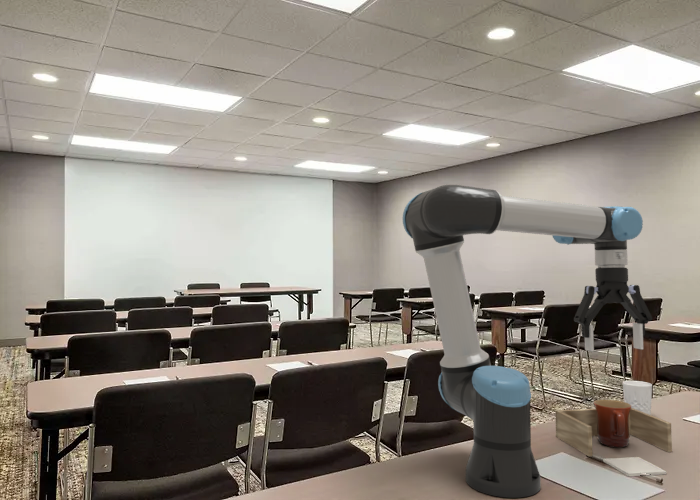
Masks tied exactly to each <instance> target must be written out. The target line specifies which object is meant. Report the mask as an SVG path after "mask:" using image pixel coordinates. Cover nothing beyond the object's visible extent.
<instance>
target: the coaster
mask: <svg viewBox="0 0 700 500" xmlns="http://www.w3.org/2000/svg"><path fill="white" fill-rule="evenodd" d="M602 461H603V463H605V464H607V465H608V466H610V467H612V468H614V469H616V470H617V471H618V472H620V473H622V474H623V475H625V476H627V477H641V476H640V475H641V473H640V472H642V473H646V474H651V475H650V476H661V475H667V473H668V472H667V471H666V470H664V469H663V468H661V467H658V466H657V465H655V464H653V463H651V462H649V461H647V460H645V459H643V458H641V457H639V456H634V457H633V456H632V457H631V456H629V457H615V458H614V457H613V458H612V457H611V458H603V459H602Z"/></svg>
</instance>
